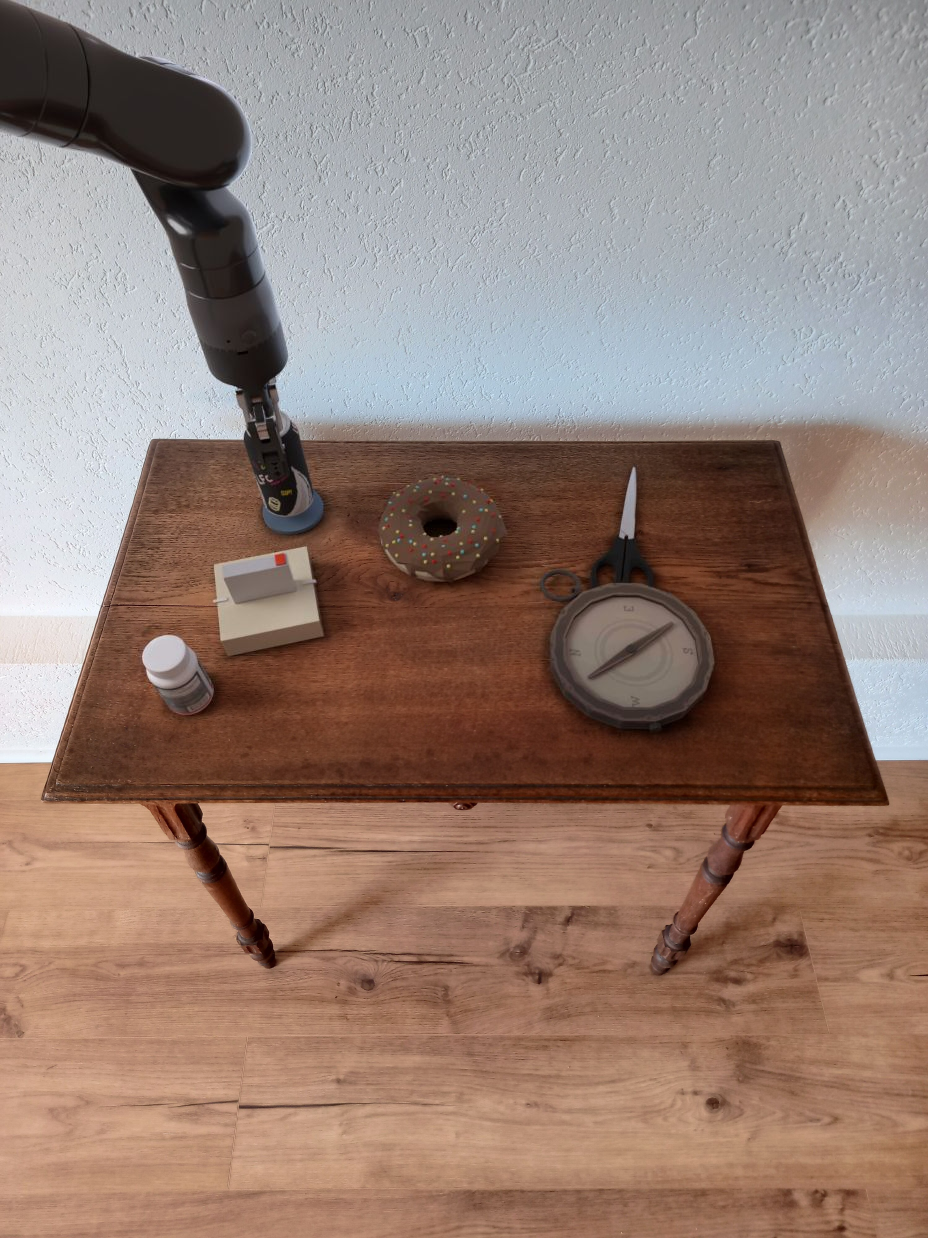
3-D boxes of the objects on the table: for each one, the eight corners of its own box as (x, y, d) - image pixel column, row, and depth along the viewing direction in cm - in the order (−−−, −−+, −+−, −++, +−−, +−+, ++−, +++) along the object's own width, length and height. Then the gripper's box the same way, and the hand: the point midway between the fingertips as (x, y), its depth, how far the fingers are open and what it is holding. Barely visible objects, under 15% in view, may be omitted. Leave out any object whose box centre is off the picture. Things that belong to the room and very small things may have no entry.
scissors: (602, 466, 97) (587, 602, 86) (602, 461, 96) (588, 598, 85) (658, 473, 96) (651, 611, 86) (659, 467, 95) (652, 606, 85)
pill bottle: (171, 675, 82) (143, 630, 75) (218, 674, 82) (193, 630, 75) (162, 716, 80) (132, 675, 73) (210, 716, 80) (184, 674, 73)
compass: (731, 727, 78) (736, 719, 76) (564, 745, 77) (565, 736, 76) (679, 559, 89) (683, 548, 87) (532, 574, 88) (533, 563, 86)
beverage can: (257, 516, 92) (230, 438, 82) (275, 480, 95) (251, 400, 85) (305, 525, 91) (284, 446, 81) (321, 488, 94) (303, 408, 84)
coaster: (266, 540, 92) (265, 536, 91) (260, 495, 96) (259, 491, 95) (327, 528, 93) (327, 524, 92) (319, 484, 96) (318, 480, 96)
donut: (365, 578, 89) (359, 549, 85) (402, 487, 96) (398, 457, 92) (491, 604, 86) (491, 576, 82) (519, 510, 94) (521, 480, 90)
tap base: (224, 657, 83) (216, 641, 81) (217, 581, 89) (209, 563, 86) (327, 635, 85) (322, 619, 82) (314, 562, 90) (309, 544, 87)
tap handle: (234, 604, 83) (222, 576, 79) (233, 591, 84) (220, 564, 80) (297, 591, 84) (288, 563, 80) (295, 579, 85) (286, 551, 81)
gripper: (190, 279, 76) (235, 416, 90) (199, 378, 68) (247, 511, 82) (270, 267, 77) (302, 404, 91) (288, 363, 69) (320, 497, 83)
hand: (276, 454), depth 86 cm, fingers closed on beverage can, 5 cm apart
